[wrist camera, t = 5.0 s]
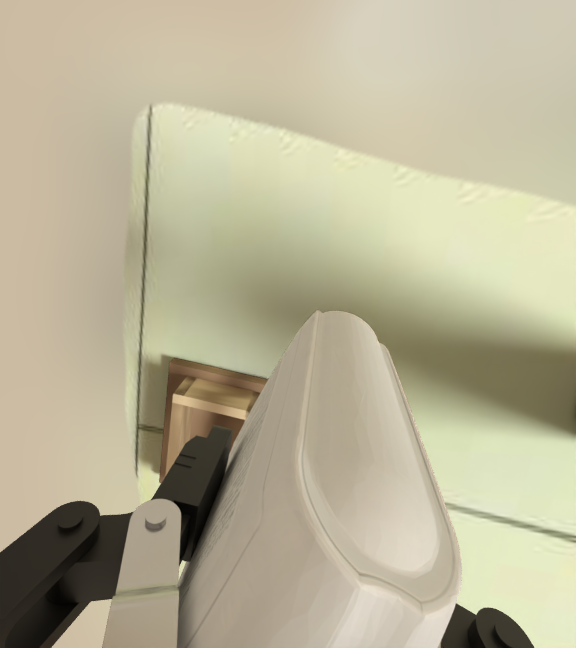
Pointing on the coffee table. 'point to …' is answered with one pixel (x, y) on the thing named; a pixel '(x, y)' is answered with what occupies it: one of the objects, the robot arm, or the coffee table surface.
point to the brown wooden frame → (204, 405)
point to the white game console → (325, 512)
